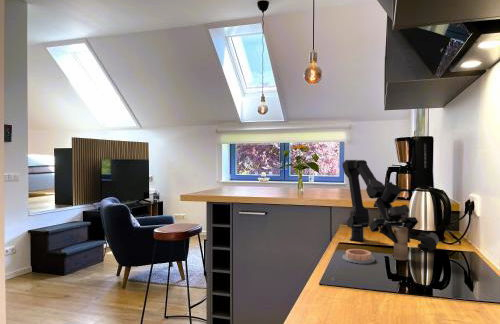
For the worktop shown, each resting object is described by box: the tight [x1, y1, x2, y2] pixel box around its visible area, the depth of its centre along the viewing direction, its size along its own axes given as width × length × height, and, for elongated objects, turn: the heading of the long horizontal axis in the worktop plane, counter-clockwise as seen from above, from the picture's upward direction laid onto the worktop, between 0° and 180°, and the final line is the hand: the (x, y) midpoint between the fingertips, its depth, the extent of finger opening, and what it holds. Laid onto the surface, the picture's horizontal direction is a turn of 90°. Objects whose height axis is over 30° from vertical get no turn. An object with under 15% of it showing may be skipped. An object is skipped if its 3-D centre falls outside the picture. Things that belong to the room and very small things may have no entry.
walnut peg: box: [393, 226, 409, 261], centre depth 137 cm, size 5×5×12 cm
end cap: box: [417, 231, 440, 253], centre depth 151 cm, size 10×7×7 cm
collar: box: [342, 248, 375, 265], centre depth 137 cm, size 12×12×3 cm
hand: (403, 242), depth 135 cm, fingers closed on walnut peg, 5 cm apart
